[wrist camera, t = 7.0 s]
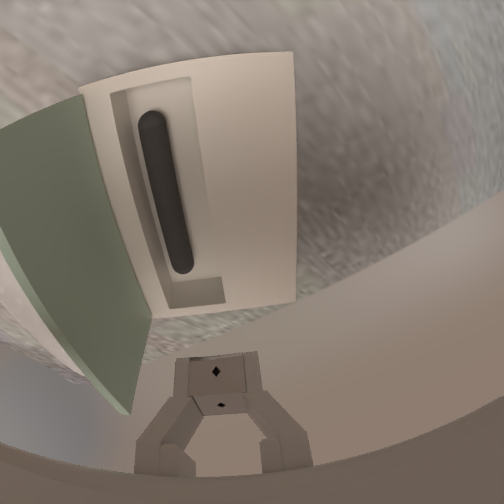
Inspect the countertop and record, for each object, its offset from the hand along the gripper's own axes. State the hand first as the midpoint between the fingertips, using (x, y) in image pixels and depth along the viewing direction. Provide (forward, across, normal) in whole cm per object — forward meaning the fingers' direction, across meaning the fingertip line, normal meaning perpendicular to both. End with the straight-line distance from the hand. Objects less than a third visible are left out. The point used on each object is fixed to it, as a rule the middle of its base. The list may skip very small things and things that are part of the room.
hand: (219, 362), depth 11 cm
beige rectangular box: (+17, +2, 0) cm, 17 cm away
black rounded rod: (+15, +4, 0) cm, 16 cm away
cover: (+7, +8, 0) cm, 10 cm away
